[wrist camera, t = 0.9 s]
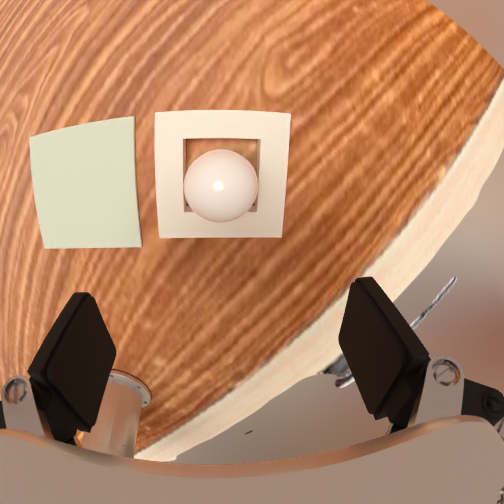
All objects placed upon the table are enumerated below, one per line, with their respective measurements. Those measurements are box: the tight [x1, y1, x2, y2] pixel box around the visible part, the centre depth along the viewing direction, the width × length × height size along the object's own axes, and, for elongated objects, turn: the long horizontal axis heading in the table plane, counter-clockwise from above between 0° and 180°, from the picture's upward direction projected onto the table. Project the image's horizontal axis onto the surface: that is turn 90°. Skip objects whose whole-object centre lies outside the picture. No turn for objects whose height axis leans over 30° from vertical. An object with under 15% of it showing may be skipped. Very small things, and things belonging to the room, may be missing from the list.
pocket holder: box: [155, 110, 291, 238], centre depth 29 cm, size 14×14×2 cm
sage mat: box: [29, 116, 142, 249], centre depth 28 cm, size 16×16×1 cm
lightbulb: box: [184, 149, 258, 223], centre depth 25 cm, size 6×6×11 cm
